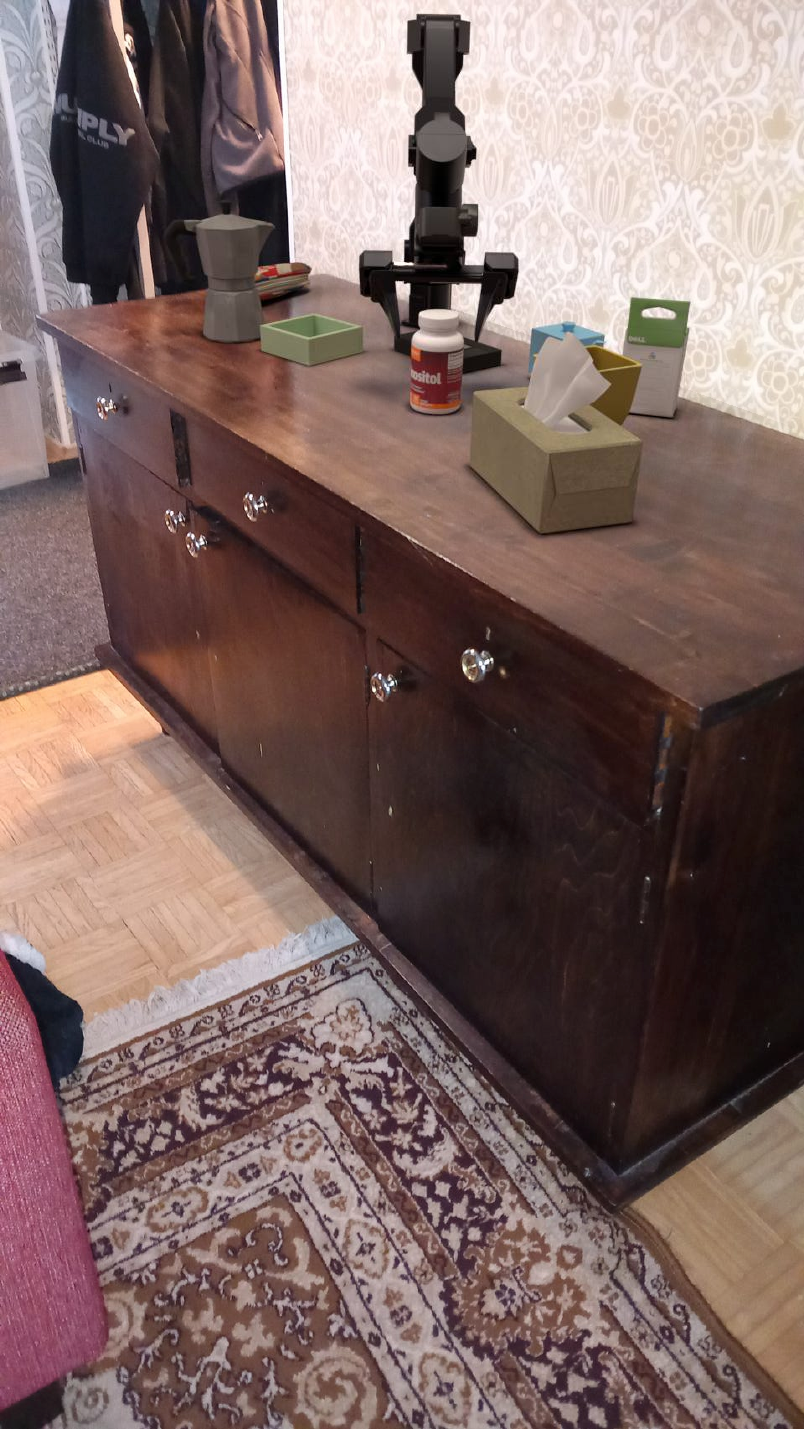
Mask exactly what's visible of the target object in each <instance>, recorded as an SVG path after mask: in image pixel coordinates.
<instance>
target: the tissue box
mask: <svg viewBox="0 0 804 1429" xmlns="http://www.w3.org/2000/svg"><path fill="white" fill-rule="evenodd" d="M592 362H593V359H592V357H591V355H590V354H589V352H588V351H587V349H586V348H585V346H584V345H583V344H582V343H581V342H580V341H579V340H578V339H577V337H576V336H575V335H573V334H572V333H570V332H569V331H568V332H566V334H565V337H564V339H563V341H561V340H558V339H555V338H553V337H548V338H547V339H546V341H545V342H544V344H543V346H542V348H541V350H540V352H539V353H538V355H537V357H536V360H535V363H534V366H533V370H532V373H531V372H530V373H531V374H530V379H529V385H528V386H519V387H508V388H497V389H485V390H484V389H483V390H475V391H474V392H473V394H472V411H471V431H470V432H471V434H470V453H469V466H470V468H472V469H473V470H474V471H475V472H476V473H477V474H478V475H479V476H480V477H481V478H482V479H483V480H484V481H485V482H486V483H488V485H489V486H490V487H491V488H493V490H495V491H496V492H497V493H498V494H499V495H500V497H502V498H503V499H504V500H505V501H506V502H507V503H508V504H509V505H510V506H511V507H512V508H513V509H514V510H515V511H516V512H517V513H518V514H520V516H522V517H523V519H525V520H526V522H528V523H529V525H531V526H532V527H533V528H534V529H535V531H537V532H538V533H539V534H540V535H544V534H552V533H559V532H560V533H561V532H567V531H568V532H569V531H574V530H582V529H589V528H591V529H592V528H598V527H605V526H612V525H620V524H628V523H631V522H632V521H633V519H634V518H633V517H634V511H635V504H636V497H637V492H638V483H639V476H640V469H641V464H642V462H641V461H642V456H643V450H644V449H643V448H644V441H643V440H642V439H641V438H639V437H637V436H636V435H634V434H633V433H632V432H630V431H629V430H628V429H626V428H624V427H623V426H622V425H621V426H620V425H618V424H617V423H615V422H614V421H613V420H611V419H610V418H608V417H607V416H605V415H604V414H602V413H601V412H599V411H598V410H596V409H595V408H593V407H592V406H590V405H589V404H591V403H593V402H595V401H596V400H597V399H598V398H599V397H600V396H601V395H602V394H603V393H604V392H605V391H606V390H607V389H608V387H609V386H610V385H611V383H610V382H608V381H607V380H606V379H604V378H603V376H602V375H601V374H600V373H599V372H598V371H597V369H596V368H595V366H594V365H593V363H592Z"/></svg>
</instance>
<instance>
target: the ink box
mask: <svg viewBox="0 0 804 1429" xmlns="http://www.w3.org/2000/svg"><path fill="white" fill-rule="evenodd" d="M691 302H692V301H690V300H677V299H662V298H650V297H648V298H647V297H637V296H635V297H634V296H631V297H630V301H629V311H628V312H629V313H628V319H627V320H628V321H627V328H626V329H625V334H624V339H623V340H624V341H623V349H622V354H621V355H622V356H625V357H627V358H629V359H632V360H634V361H637V362H639V363H641V364H642V368H641V372H640V376H639V380H638V384H637V388H636V391H635V395H634V399H633V402H632V406H631V408H630V411H629V413H630V414H638V415H646V416H656V417H665V418H673V417H674V414H675V413H676V412H675V411H676V409H677V406H678V400H679V394H680V388H681V381H682V375H683V372H684V371H683V370H684V364H685V358H686V352H687V346H688V340H689V335H690V327H688V322H689V313H690V307H691ZM655 308H660V309H664V310H666V311H667V310H668V311H670V312H673V313H674V314H675V316H674V317H657V316H645V315H643V312H644V311H646V310H650V309H655ZM629 413H628V414H629Z"/></svg>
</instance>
